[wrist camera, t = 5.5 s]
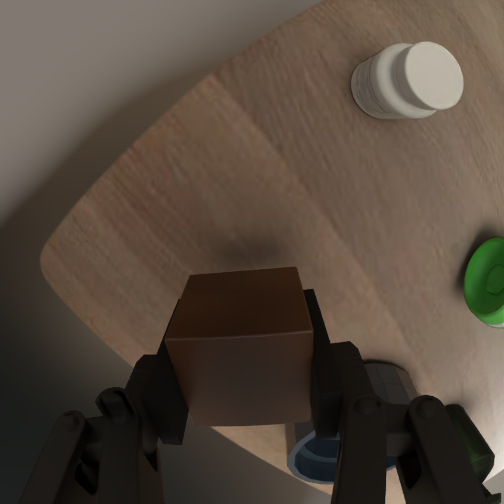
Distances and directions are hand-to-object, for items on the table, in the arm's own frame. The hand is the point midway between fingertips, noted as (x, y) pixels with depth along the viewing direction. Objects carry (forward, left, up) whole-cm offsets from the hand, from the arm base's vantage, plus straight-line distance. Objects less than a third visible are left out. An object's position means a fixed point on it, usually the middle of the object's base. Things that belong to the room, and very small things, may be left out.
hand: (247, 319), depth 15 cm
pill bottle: (+5, +14, -8) cm, 17 cm away
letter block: (0, 0, 0) cm, 0 cm away
